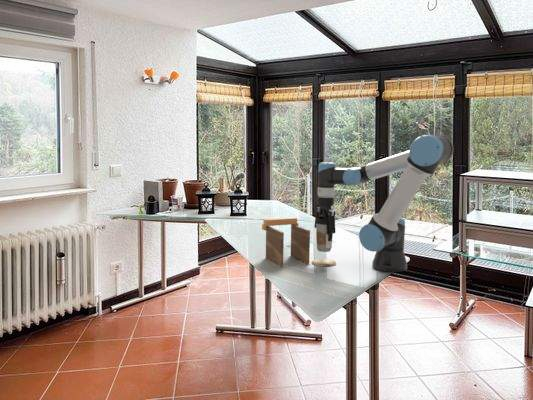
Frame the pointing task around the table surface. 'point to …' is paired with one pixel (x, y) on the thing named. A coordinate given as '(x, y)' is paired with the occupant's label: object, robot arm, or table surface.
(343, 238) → the table surface
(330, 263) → the coaster
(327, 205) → the robot arm
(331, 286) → the table surface
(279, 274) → the table surface
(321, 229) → the coffee cup
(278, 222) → the orange notched bar
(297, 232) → the cradle
